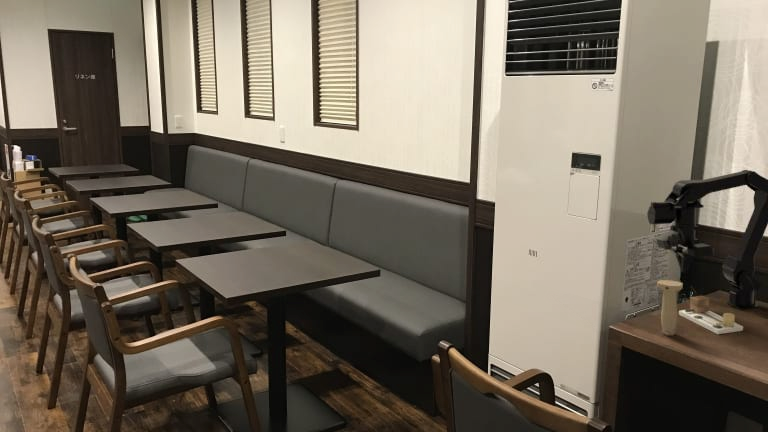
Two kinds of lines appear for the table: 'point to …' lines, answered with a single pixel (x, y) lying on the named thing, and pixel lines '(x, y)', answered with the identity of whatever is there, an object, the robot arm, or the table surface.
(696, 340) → the table surface
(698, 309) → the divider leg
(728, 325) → the bolt plate
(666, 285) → the handle
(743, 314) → the table surface
